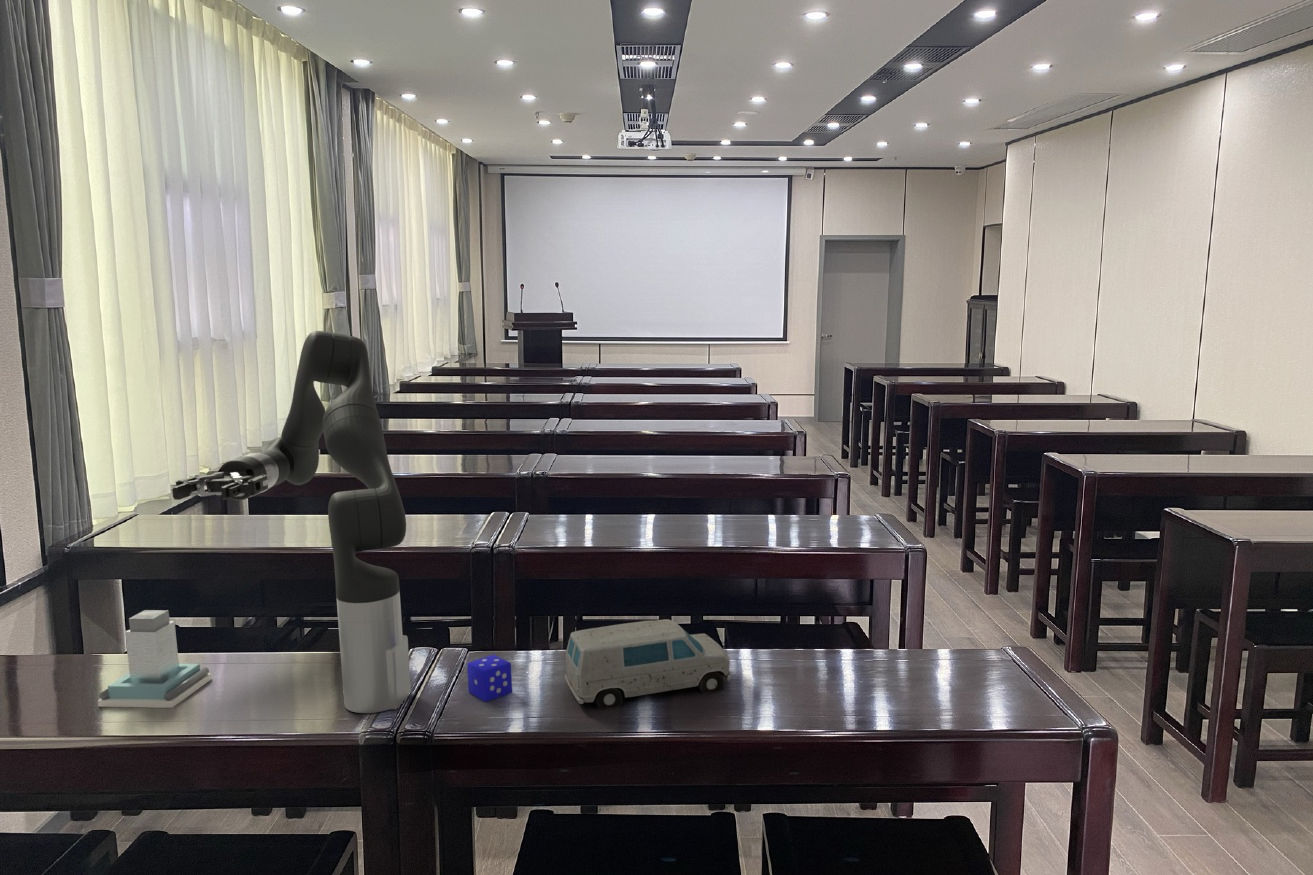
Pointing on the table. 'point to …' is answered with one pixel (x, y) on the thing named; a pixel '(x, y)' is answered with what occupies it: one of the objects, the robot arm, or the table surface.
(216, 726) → the table surface
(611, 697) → the toy car
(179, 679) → the tray
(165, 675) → the stepped metal tower
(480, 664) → the die
